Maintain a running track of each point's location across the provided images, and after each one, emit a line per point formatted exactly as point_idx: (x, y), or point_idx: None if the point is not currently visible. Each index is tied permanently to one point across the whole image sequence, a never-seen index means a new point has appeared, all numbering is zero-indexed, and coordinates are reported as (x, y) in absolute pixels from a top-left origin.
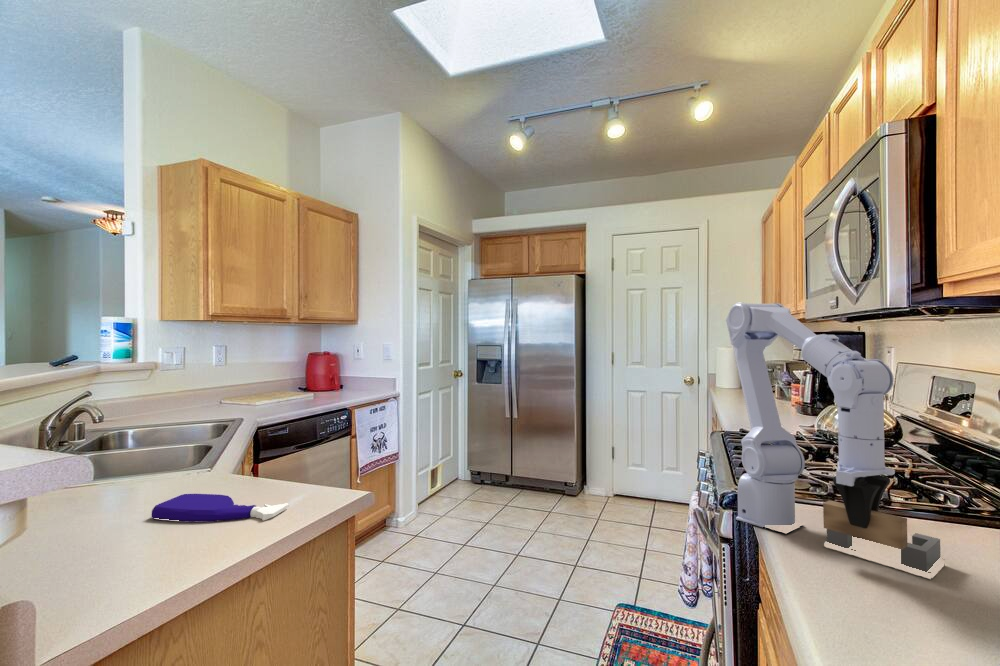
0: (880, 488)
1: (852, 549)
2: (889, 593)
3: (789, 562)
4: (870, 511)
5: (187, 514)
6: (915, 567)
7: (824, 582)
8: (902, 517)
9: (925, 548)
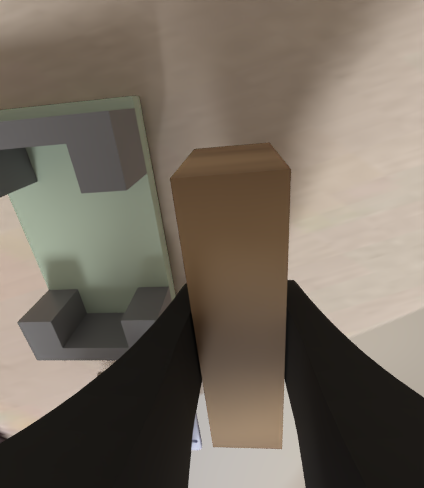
0: (140, 449)
1: (163, 278)
2: (343, 132)
3: (340, 326)
4: (305, 325)
5: None
6: (138, 138)
7: (401, 248)
8: (176, 201)
9: (73, 126)
